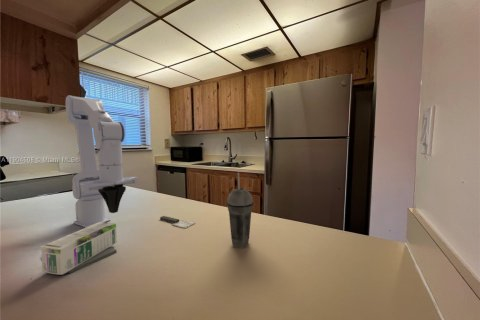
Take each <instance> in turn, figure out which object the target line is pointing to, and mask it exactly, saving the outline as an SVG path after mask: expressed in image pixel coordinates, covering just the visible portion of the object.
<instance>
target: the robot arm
mask: <svg viewBox="0 0 480 320" xmlns="http://www.w3.org/2000/svg"><path fill="white" fill-rule="evenodd" d="M65 112H66V113H65V114H66V118H67V122H68V123H71V124H72V125H73V126H74V128H75V131H76V138H77V147H78V154H79V161H80V162H79V163H80V170H81V171H79V172H78V173H77V174H75V175H74V176H73V177H72V180H71V181H72V186H71V188H72V189H71V190H72V196H73V198H74V199H76V200H77V201H76V202H75V205H74V206H75V220H73V224H75V225H78V226H81V227H83V228H87V227H89V226H91V225H94V224H96V223H98V222H103V223H108V222H109V221H111V220H112V219H111V218H108V217H106V207H107V209H108V213H111V214H115V213H118V212H119V208H120V203H121V201H122V197H123V195H124V194H125V192H126V189H127V187H126V185H131V184H138V183H139V182H138V181H139V180H138V179H139V178H138V176H125V177H124V169H123V168H124V167H123V147H122V146H123V145H122V143H123V142H124V140H125V136H126V135H125V134H126V131H125V126H124V124H123V122H122V121H114V119H113V117H111V115H110V114H109V113H107V111H106V110H105V109H104V104H103V101H102V100H101V99H99V98H98V99H97V98H88V97H82V96H81V97H80V96H75V95H67V96H66V97H65ZM95 148H96V149H97V154H96V149H95ZM96 155H97V156H96ZM97 157H98V158H97ZM97 161H98V162H97ZM105 204H106V207H105Z"/></svg>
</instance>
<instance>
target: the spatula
mask: <svg viewBox="0 0 480 320" xmlns="http://www.w3.org/2000/svg"><path fill="white" fill-rule="evenodd" d="M159 218H160V219H159V220H160V221H163V222H167V223H172V224H171V225H172V226H174V227H176V228H177V227H178V228H182V229H187V228H190V227H192V226H194V225H195V224H196V221H195V222H193V221H190V220H187V219H186V220H185V219H181V220H180V219H179V218H174V217H171V216H167V215H162V216H160V217H159Z"/></svg>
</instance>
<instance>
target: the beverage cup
mask: <svg viewBox="0 0 480 320" xmlns="http://www.w3.org/2000/svg"><path fill="white" fill-rule="evenodd" d="M240 180H241V179H240V172H237V188H235V189H233V190H232V191H231V192H230V193H229V194H228V197H227V201H226V205H227V210H228V216H229V227H230V228H229V229H230V236H231V244H232V246H233V247H235V248H237V249H241V248H242V249H243V248H246V247H248V246H249V241H250V232H251V222H252V221H251V220H252V211H253V205H254V200H253V197H252V195H251V193H250V191H248V190H247V189H245V188H242V187H241V184H240V182H241V181H240Z"/></svg>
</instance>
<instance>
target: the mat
mask: <svg viewBox="0 0 480 320" xmlns="http://www.w3.org/2000/svg"><path fill="white" fill-rule="evenodd" d="M116 253H117V249H115V248H113V247H112V246H111V247H109V248H107V249H105V250H104V251H102V252H100V253H98V254H97V255H95V256H93V257H92V258H90V259H88V260H87V261H85V262H83V263H82V264H80V265H78V266H77V267H75V268H73V269H72V270H70V271H68V272H67V273H68V274H72V273H75V272H77V271H78V270H81V269H83V268H85V267H87V266H90V265H91V264H94V263H95V262H98V261H100V260H103V259H105V258H106V257H109V256H111V255H113V254H116Z"/></svg>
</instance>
